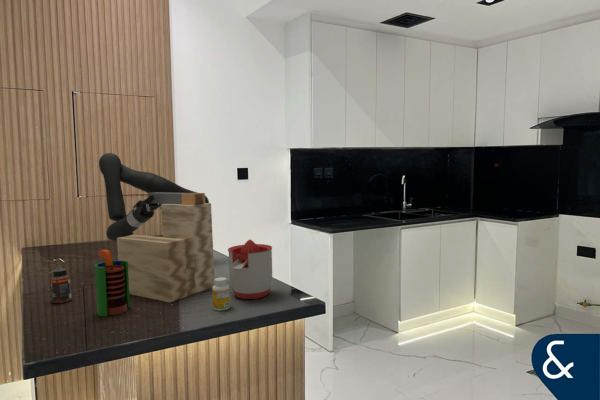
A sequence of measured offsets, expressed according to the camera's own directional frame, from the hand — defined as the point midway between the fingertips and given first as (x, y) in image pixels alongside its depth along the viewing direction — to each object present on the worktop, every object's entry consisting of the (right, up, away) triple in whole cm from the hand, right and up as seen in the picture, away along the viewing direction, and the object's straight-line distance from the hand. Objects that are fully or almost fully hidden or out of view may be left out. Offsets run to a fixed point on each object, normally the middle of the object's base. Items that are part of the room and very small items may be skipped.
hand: (162, 195), depth 175 cm
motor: (-7, -38, -30) cm, 49 cm away
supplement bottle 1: (-30, -38, -18) cm, 51 cm away
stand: (+4, -35, -6) cm, 36 cm away
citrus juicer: (+37, -36, -17) cm, 54 cm away
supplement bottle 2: (+29, -37, -30) cm, 56 cm away
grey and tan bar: (+6, -3, -4) cm, 8 cm away
